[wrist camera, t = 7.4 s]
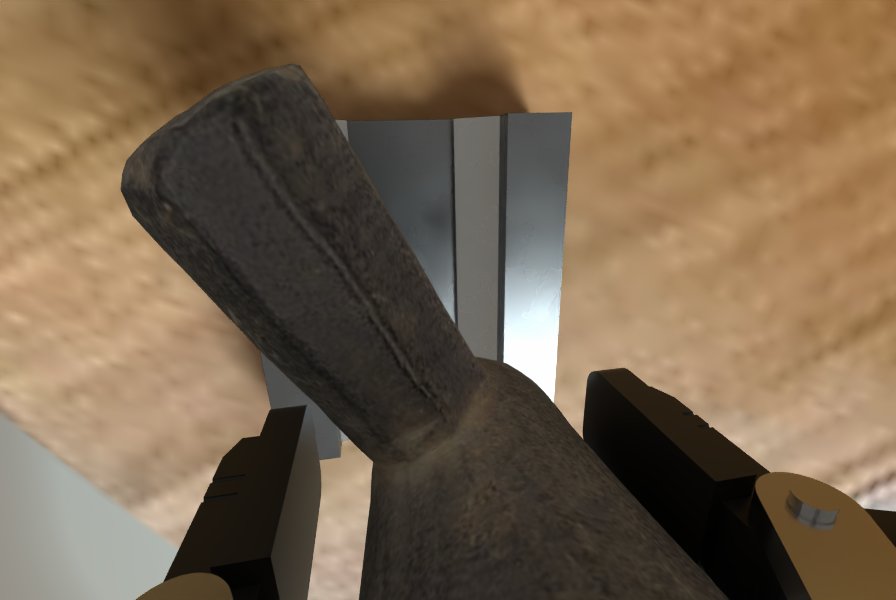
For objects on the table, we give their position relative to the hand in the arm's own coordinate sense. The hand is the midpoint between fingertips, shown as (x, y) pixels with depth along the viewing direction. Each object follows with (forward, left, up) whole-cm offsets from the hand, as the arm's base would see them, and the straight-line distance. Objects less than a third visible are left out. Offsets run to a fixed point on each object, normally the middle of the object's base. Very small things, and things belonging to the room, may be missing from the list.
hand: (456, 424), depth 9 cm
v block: (0, 0, -12) cm, 12 cm away
